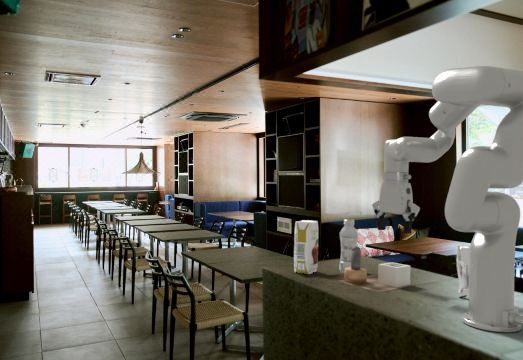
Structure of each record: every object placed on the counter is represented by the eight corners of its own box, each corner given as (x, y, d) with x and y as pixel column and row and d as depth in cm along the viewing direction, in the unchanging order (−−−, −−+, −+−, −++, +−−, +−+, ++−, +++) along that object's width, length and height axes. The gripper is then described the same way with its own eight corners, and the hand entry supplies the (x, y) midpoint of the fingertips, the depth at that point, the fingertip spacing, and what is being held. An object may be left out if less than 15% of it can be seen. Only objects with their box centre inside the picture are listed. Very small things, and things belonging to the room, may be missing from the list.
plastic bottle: (357, 276, 154) (358, 220, 154) (338, 275, 155) (339, 220, 156) (357, 273, 160) (358, 219, 161) (339, 271, 162) (340, 218, 162)
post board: (415, 289, 136) (416, 248, 136) (378, 297, 126) (379, 252, 126) (372, 279, 150) (373, 242, 150) (336, 285, 139) (337, 245, 139)
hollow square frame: (410, 284, 136) (410, 265, 136) (396, 287, 132) (396, 267, 132) (391, 280, 142) (392, 262, 142) (377, 282, 138) (378, 264, 138)
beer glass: (472, 302, 123) (473, 249, 123) (450, 296, 129) (451, 246, 129) (486, 299, 126) (487, 248, 127) (464, 293, 132) (465, 244, 132)
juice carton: (291, 272, 158) (292, 221, 159) (300, 269, 166) (302, 219, 166) (310, 275, 155) (311, 222, 155) (319, 271, 162) (320, 220, 162)
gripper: (426, 179, 133) (425, 234, 133) (381, 178, 147) (379, 228, 147) (412, 178, 128) (410, 235, 128) (366, 177, 142) (365, 229, 142)
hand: (394, 231), depth 137 cm, fingers open, 9 cm apart
